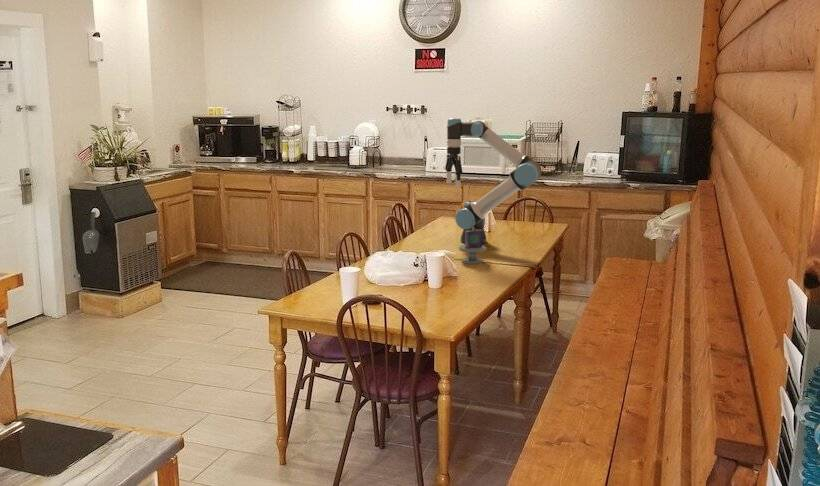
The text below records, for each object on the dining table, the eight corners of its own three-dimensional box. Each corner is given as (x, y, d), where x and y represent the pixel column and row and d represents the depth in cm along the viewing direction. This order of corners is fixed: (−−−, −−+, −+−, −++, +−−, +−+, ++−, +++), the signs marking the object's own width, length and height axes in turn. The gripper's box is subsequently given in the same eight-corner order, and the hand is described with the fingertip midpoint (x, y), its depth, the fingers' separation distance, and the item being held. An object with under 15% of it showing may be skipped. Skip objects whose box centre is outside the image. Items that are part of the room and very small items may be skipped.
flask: (465, 248, 377) (466, 228, 375) (463, 247, 380) (464, 227, 378) (482, 247, 380) (483, 227, 378) (480, 246, 383) (481, 226, 380)
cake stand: (479, 257, 390) (479, 243, 388) (490, 263, 377) (490, 249, 376) (454, 259, 386) (454, 245, 384) (464, 265, 373) (465, 251, 371)
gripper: (439, 145, 418) (439, 182, 423) (456, 148, 395) (455, 187, 400) (451, 144, 421) (451, 181, 425) (468, 148, 398) (468, 187, 402)
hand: (453, 184), depth 413 cm, fingers open, 13 cm apart
